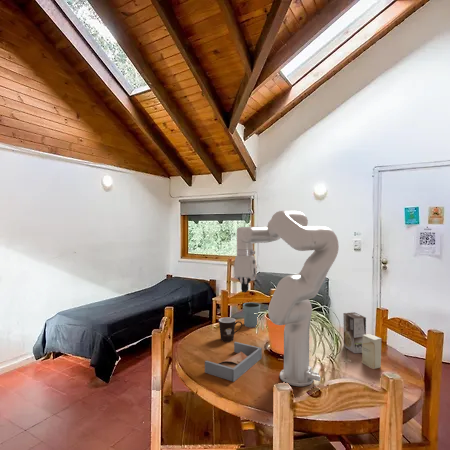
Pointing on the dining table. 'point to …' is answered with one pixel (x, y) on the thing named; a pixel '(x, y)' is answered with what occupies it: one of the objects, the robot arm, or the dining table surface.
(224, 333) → the coffee mug
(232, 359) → the sunglasses case
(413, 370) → the dining table surface
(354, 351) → the coffee box
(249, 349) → the bin
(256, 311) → the blue-grey cylindrical container
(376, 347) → the skincare box
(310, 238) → the robot arm
